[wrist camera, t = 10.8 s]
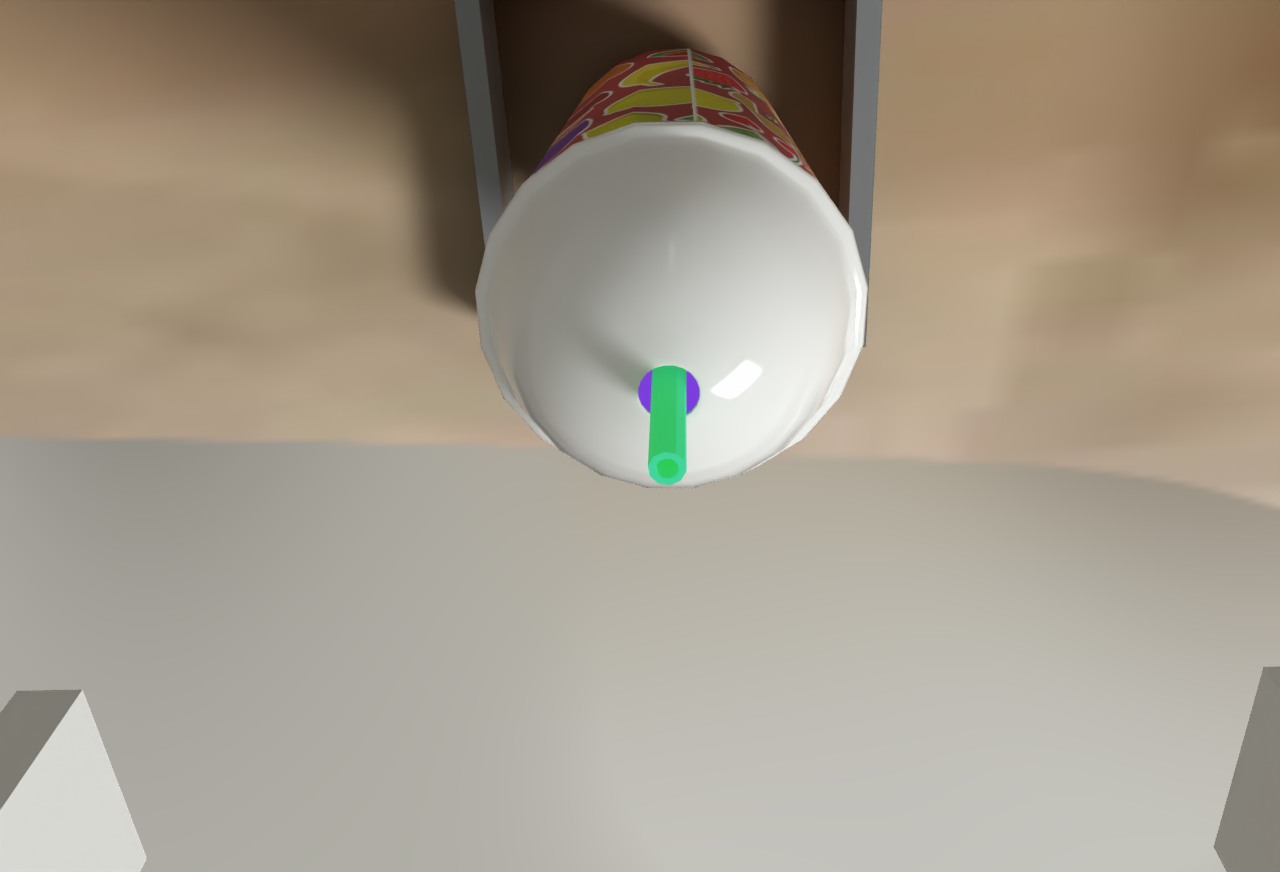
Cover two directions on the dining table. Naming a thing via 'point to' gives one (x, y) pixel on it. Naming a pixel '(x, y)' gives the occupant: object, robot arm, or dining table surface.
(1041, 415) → the dining table surface
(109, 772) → the robot arm
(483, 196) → the socket
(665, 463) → the smoothie
